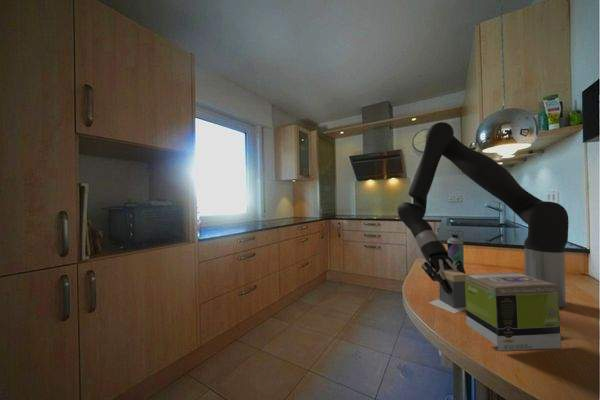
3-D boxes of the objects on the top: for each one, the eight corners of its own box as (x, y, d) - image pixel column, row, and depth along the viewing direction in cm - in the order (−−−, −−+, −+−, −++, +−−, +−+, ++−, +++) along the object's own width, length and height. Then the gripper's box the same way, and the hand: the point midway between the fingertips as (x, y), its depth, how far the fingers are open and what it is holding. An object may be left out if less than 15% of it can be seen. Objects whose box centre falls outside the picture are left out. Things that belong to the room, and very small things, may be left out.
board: (453, 297, 81) (453, 294, 81) (480, 306, 74) (480, 303, 74) (428, 306, 74) (428, 302, 74) (454, 317, 67) (454, 313, 67)
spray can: (454, 280, 98) (453, 232, 99) (467, 284, 93) (466, 234, 93) (444, 281, 97) (444, 233, 97) (457, 286, 92) (456, 235, 92)
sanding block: (452, 298, 77) (451, 268, 77) (467, 307, 71) (466, 274, 71) (439, 299, 76) (439, 269, 76) (453, 308, 70) (453, 275, 71)
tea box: (519, 326, 62) (518, 271, 62) (562, 350, 52) (561, 284, 52) (464, 328, 62) (463, 272, 62) (497, 352, 52) (496, 286, 52)
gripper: (416, 240, 80) (442, 288, 68) (454, 239, 82) (486, 285, 70) (407, 252, 86) (430, 298, 74) (443, 250, 87) (471, 296, 75)
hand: (457, 292), depth 72 cm, fingers closed on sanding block, 4 cm apart
